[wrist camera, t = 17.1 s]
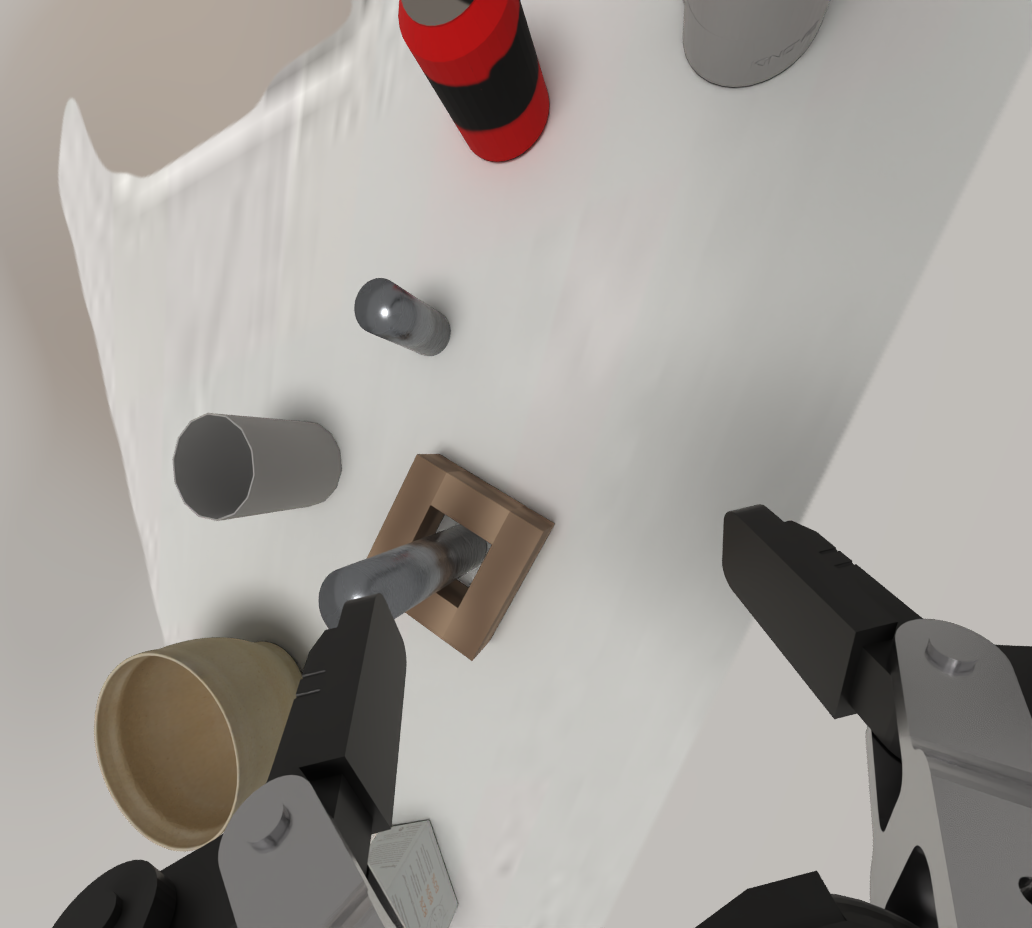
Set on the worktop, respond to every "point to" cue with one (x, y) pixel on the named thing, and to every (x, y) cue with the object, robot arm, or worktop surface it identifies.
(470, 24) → the soda can
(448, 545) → the long steel pin
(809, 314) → the worktop surface
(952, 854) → the robot arm
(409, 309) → the short steel pin
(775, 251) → the worktop surface
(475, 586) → the walnut bored block
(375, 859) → the small box
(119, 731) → the planter bowl
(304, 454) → the cup
